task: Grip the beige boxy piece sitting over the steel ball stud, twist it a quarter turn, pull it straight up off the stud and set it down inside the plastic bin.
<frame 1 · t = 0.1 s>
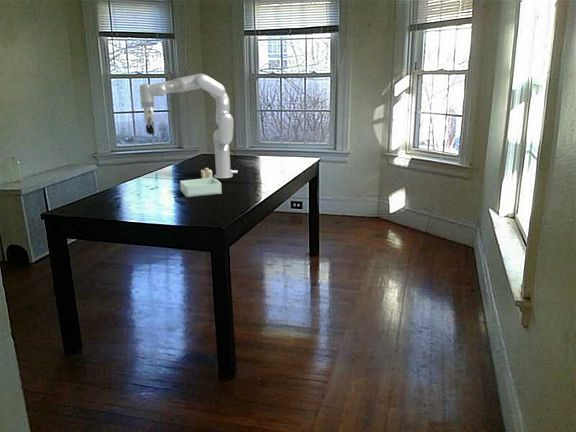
hand: (150, 133, 320), 31 cm above the table, fingers open, 9 cm apart
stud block: (207, 184, 319), on the table
beige boxy piece: (207, 181, 318), point 2 cm above the table, touching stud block
bin: (200, 192, 300), on the table
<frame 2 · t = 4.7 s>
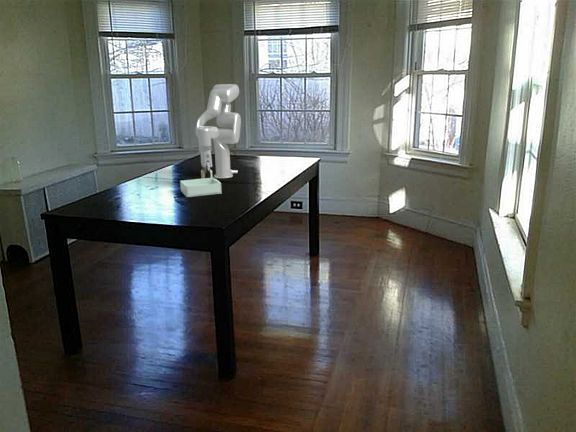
hand: (206, 177, 318), 5 cm above the table, fingers closed on beige boxy piece, 5 cm apart
beige boxy piece: (207, 181, 318), point 2 cm above the table, touching gripper, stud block
when the fingers open (5 cm above the table, at t = 14.2 s): beige boxy piece drops 1 cm, resting on bin.
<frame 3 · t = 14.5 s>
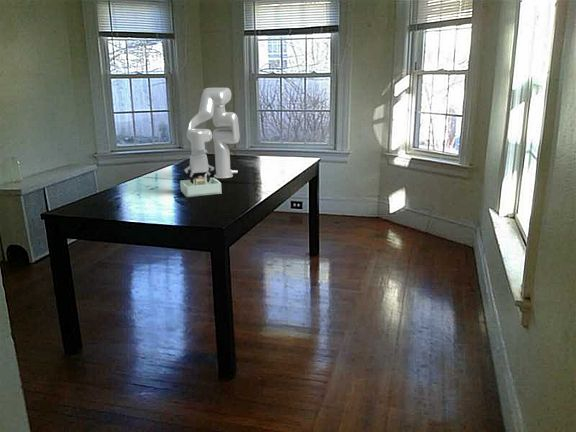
hand: (200, 182, 298), 6 cm above the table, fingers open, 8 cm apart
beige boxy piece: (200, 190, 300), point 1 cm above the table, touching bin
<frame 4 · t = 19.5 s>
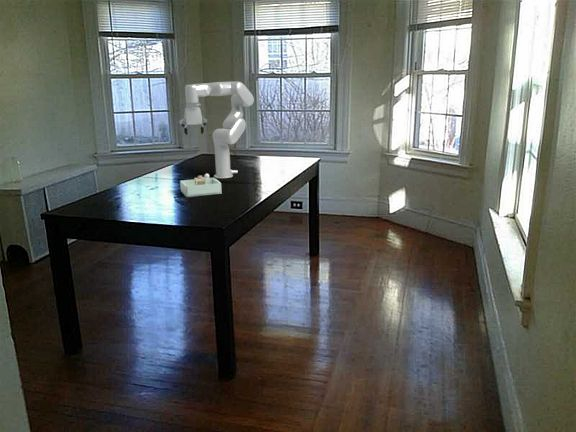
hand: (194, 134, 318), 30 cm above the table, fingers open, 9 cm apart
nothing on the table moved.
at the end: beige boxy piece inside the target area on the bin (0.1 cm from its centre), point 1.0 cm above the bin's base; the gripper is holding nothing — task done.
